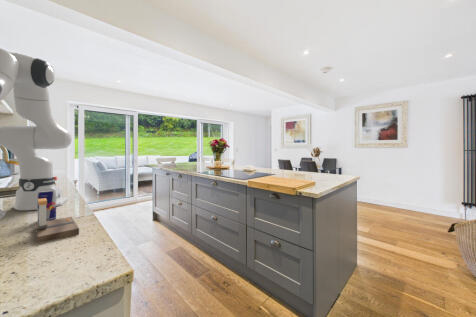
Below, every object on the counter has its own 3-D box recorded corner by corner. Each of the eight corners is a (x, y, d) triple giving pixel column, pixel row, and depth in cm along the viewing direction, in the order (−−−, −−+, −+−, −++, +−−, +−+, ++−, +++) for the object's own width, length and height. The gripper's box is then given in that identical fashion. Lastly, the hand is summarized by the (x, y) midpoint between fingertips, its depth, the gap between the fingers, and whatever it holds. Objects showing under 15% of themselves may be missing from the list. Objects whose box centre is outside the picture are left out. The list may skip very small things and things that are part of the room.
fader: (38, 229, 65) (38, 201, 64) (38, 225, 68) (37, 198, 68) (47, 227, 66) (47, 200, 66) (46, 224, 70) (46, 198, 69)
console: (37, 243, 61) (37, 236, 61) (35, 228, 72) (35, 222, 72) (78, 234, 68) (78, 227, 68) (71, 221, 79) (71, 216, 79)
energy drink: (44, 223, 77) (44, 192, 76) (33, 222, 78) (33, 191, 77) (59, 218, 82) (59, 189, 81) (49, 217, 83) (49, 189, 82)
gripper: (-50, 183, 48) (12, 215, 55) (-33, 175, 62) (15, 201, 69) (-84, 205, 45) (-14, 235, 52) (-58, 191, 59) (-5, 216, 66)
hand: (3, 216), depth 61 cm, fingers closed
